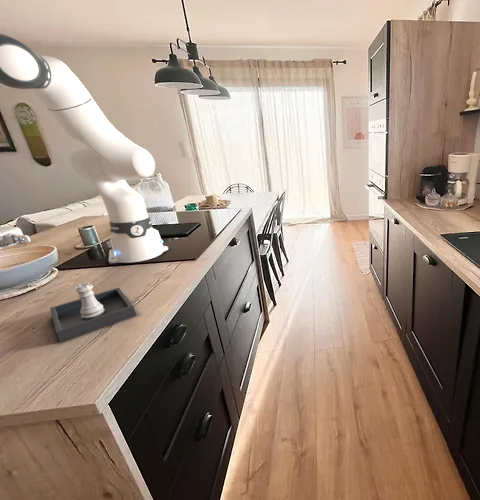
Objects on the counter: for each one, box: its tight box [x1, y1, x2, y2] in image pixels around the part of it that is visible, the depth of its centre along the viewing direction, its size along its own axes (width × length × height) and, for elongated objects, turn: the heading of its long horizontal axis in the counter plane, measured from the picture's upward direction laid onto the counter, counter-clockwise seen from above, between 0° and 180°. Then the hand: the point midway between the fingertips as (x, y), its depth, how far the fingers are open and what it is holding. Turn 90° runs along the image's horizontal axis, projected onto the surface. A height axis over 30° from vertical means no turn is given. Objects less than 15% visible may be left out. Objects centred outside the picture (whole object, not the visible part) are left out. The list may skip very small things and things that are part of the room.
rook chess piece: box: [74, 282, 105, 319], centre depth 69 cm, size 4×4×8 cm
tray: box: [49, 287, 137, 343], centre depth 70 cm, size 15×14×3 cm
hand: (7, 246), depth 62 cm, fingers open, 8 cm apart
